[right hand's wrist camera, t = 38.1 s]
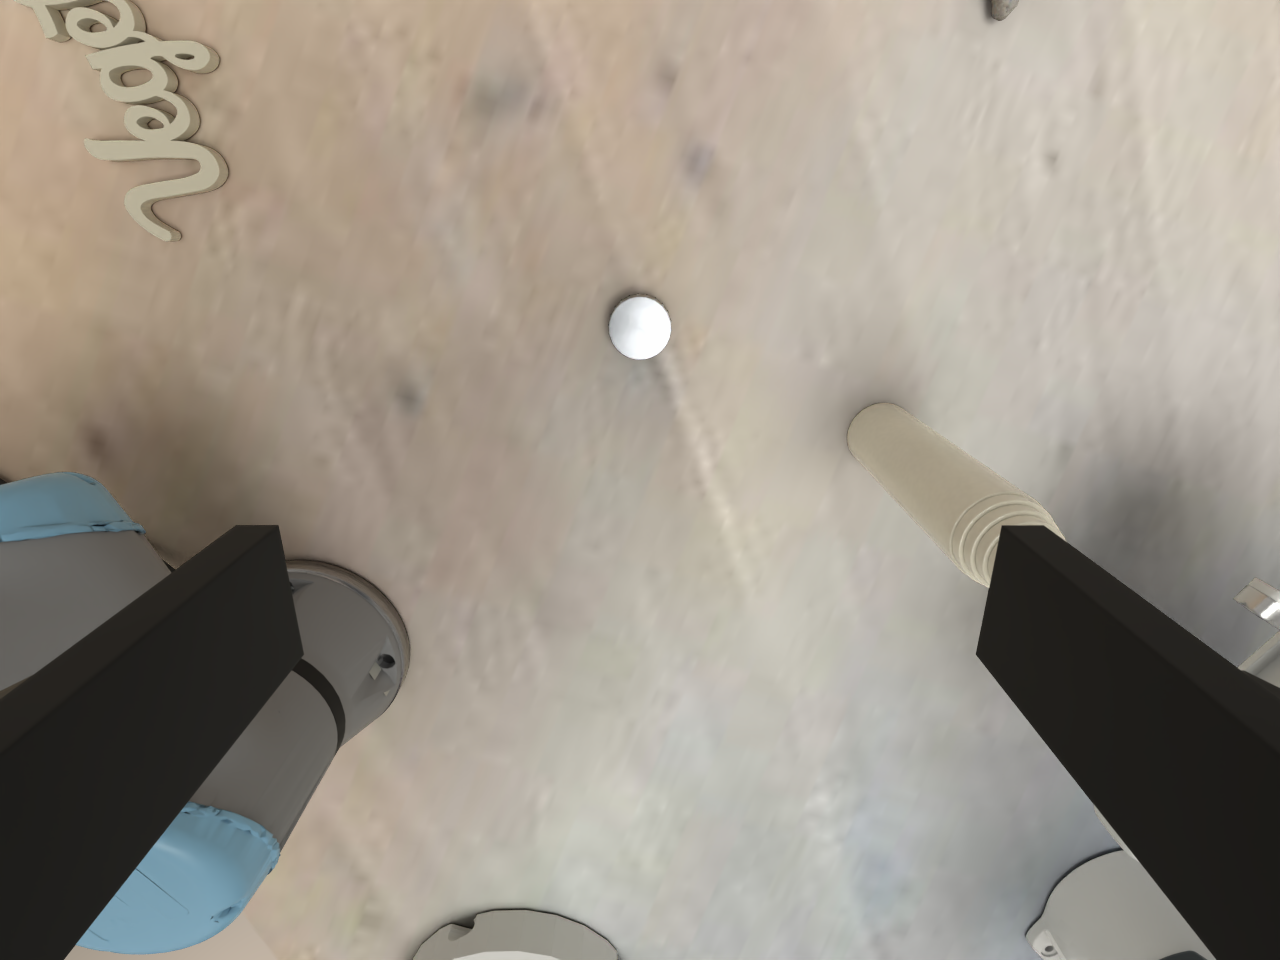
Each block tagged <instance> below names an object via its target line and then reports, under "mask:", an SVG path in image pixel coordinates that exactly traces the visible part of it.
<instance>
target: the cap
mask: <svg viewBox="0 0 1280 960" xmlns="http://www.w3.org/2000/svg"><path fill="white" fill-rule="evenodd" d="M610 317H611V318H610V322H609V324H608V326H609V335H610V338H611V341H612V343H613V345H614V346H615V348H616V349H617V350H618V351H619V352H620V353H621V354H623V355H624V356H626V357H628V358H631V359H636V360H644V359H649V358H652V357H654V356H656V355H657V354H659V353H660V352H661V351H662V350H663V349H664V348H665V346H666V345H667V343H668V341H669V340H670V335H671V331H672V329H671V319H670V318H669V315H668V310H666V308H665V307H664V306H663V303H661V302H659V301H658V300H657V299H656V298H654V297H651V296H648V294H646V295H644V294H639V293H637V294H636V295H631V296H630V295H629V297H626V298H625V299H623V300H621V301H620V302H619V303H618V304H617V306H615V307H614V310H613V312H612V314H611V315H610Z"/></svg>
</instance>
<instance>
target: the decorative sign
mask: <svg viewBox="0 0 1280 960" xmlns="http://www.w3.org/2000/svg"><path fill="white" fill-rule="evenodd" d="M14 1H15V2H17V3H19V4H22V5H25V6H27V7H30V8H33V10H34V12H35V14H36V16H37V18H38V20H39V22H40V25H41V27H42V29H43V32H44V34H45V37H46V38H47V39H51V40H54V41H57V42H65V41H67V40H69V39H70V38H71V37H72V38H73V39H75V40H76V41H78V42H80V43H82V44H85V45H88V46H91V47H94V48H97V49H100V50H102V51H99V52H95V53H92V54H89V55H86V58H87V60H88V62H89V63H90V65H91V67H92V69H94V70H98V71H101V72H100V84H101V87H102V89H103V91H104V93H105V94H106V95H107V96H108V97H109V98H111V99H113V100H115V101H119V102H123V103H127V104H133V105H135V106H132V107H130V108H129V109H128V110H127V111H126V113H125V116H124V124H125V127H126V129H127V130H128V131H129V132H130V133H131V134H132V135H133V136H135V137H137V138H139V139H142V140H145V141H130V140H111V141H99V140H93V139H86V138H85V139H84V145H85V147H86V149H87V151H88V152H89V153H90V154H91V155H92V156H94V157H95V158H98V159H101V160H107V161H116V162H126V161H140V160H153V159H191V160H197V161H199V163H200V166H201V168H200V171H199V172H198V173H196V174H194V175H192V176H189V177H185V178H181V179H175V180H168V181H161V182H156V183H151V184H145V185H140V186H137V187H134V188H132V189H130V190H129V191H128V192H127V194H126V195H125V198H124V205H125V208H126V210H127V211H128V213H129V214H130V215H131V217H132V218H133V219H134V220H135V221H136V222H137V223H138V224H139V225H140V226H141V227H143V228H144V229H145V230H146V231H148V232H149V233H151V234H152V235H154V236H156V237H158V238H159V239H161V240H164V241H179V240H180V239H181V234H180V232H179V231H177V230H175V229H173V228H171V227H170V226H168V225H166V224H164V223H163V222H161V221H160V220H158V219H157V218H156V217H155V216H154V214H153V213H152V211H151V205H152V204H153V203H155V202H156V201H159V200H162V199H168V198H175V197H181V196H187V195H193V194H198V193H204V192H209V191H212V190H215V189H217V188H219V187H220V186H221V185H223V183H224V182H225V181H226V179H227V177H228V168H227V165H226V163H225V161H224V159H223V158H222V156H221V155H220V154H219V153H218V152H216V151H215V150H213V149H211V148H209V147H207V146H204V145H200V144H195V143H190V142H184V140H186V139H188V138H190V137H191V136H192V135H194V134H195V133H196V131H197V130H198V128H199V124H200V119H199V115H198V112H197V110H196V108H195V106H194V105H193V104H192V103H191V102H190V101H189V100H188V99H186V98H185V97H183V96H181V95H179V94H175V93H174V92H175V91H176V89H177V86H178V80H177V77H176V75H175V74H174V72H173V71H172V70H171V69H170V68H169V67H168V66H167V65H165V64H163V63H161V62H160V61H163V60H168V61H169V62H170V63H172V64H174V65H176V66H178V67H180V68H183V69H186V70H189V71H192V72H195V73H201V74H204V73H210V72H212V71H214V70H215V69H216V68H217V66H218V64H219V56H218V55H217V53H216V52H215V51H214V50H213V49H211V48H210V47H208V46H205V45H203V44H200V43H198V42H195V41H163V40H161V39H159V38H157V37H154V36H152V35H149V34H147V33H145V31H146V25H145V20H144V17H143V15H142V13H141V11H140V10H139V8H138V7H137V6H136V5H135V4H134V3H132V2H131V1H129V0H14ZM102 1H107V2H111V3H112V4H114V5H115V6H116V7H117V8H118V10H119V11H120V20H119V22H118V21H117V20H116V19H114V18H113V17H110V16H108V15H106V14H103V13H101V12H98V11H96V10H93V9H89V8H84V7H86V6H90V5H93V4H96V3H99V2H102ZM68 9H72V10H70V11H69V12H68V14H67V17H66V24H65V22H64V20H63V18H62V16H61V14H60V13H59V11H58V10H68ZM95 23H102V24H103V25H105V27H106V28H107V30H106V31H103V32H94V33H92V32H91V31H90V29H89V28H90V26H91V25H93V24H95ZM70 36H71V37H70ZM139 41H145V42H141V43H138V42H139ZM189 57H194V58H193V59H191V60H185V59H186V58H189ZM135 69H148V70H149V71H151V73H152V74H153V77H152V79H151V80H150V81H148V82H147V83H145V84H142V85H139V86H135V87H125V86H124V85H123V83H122V82H121V78H120V77H121V75H122V74H123V73H124V72H127V71H130V70H135ZM163 99H165V100H167V101H169V102H171V103H172V104H173V105H174V106H175V107H176V109H177V115H176V118H175V117H174V116H172V115H171V114H169V113H167V112H165V111H163V110H159V109H155V108H151V107H147V106H142V104H150V103H155V102H158V101H161V100H163ZM153 119H157V120H159V121H160V122H161V123H162V124H163V125H164V127H163V128H160V129H151V128H149V127H148V125H147V123H148V122H149V121H150V120H153Z"/></svg>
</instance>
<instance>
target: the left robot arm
mask: <svg viewBox="0 0 1280 960" xmlns="http://www.w3.org/2000/svg"><path fill="white" fill-rule="evenodd" d="M1233 599H1234V600H1235V601H1236V602H1238V603H1239V604H1241V605H1242V606H1243V607H1245V608H1246V609H1248V610H1249V611H1250V612H1252V613H1253V614H1255V615H1256V616H1258V617H1260V618H1261V619H1263V620H1265V621H1266V622H1268V623H1269V624H1271V625H1272V626H1274V627H1275V628H1277V629H1279V630H1280V590H1277V589H1276V588H1274V587H1272V586H1270V585H1269V584H1267V583H1265V582H1263V581H1261V580H1260V579H1258V578H1254V579H1253V580H1252V581H1251V582H1250V583H1249V584H1248V585H1247V586H1246V587H1245V588H1244V589H1243V590H1242V591H1240V592H1239V593H1238V594H1237V595H1236V596H1235V597H1234V598H1233ZM1238 669H1240V670H1244V671H1247V672H1249V673H1251V674H1253V675H1255V676H1257V677H1259V678H1261V679H1263V680H1265V681H1267V682H1269V683H1271V684H1273V685H1275V686H1277V687H1279V688H1280V631H1279V632H1277V633H1276V634H1275V635H1274V636H1273V637H1272V638H1271V639H1269V640H1268V641H1267V642H1266V643H1265V644H1264V645H1263V646H1262V647H1260V648H1259V649H1258V650H1257V651H1256V652H1255V653H1254V654H1252V655H1251V656H1250V657H1249V658H1248V659H1247V660H1246V661H1244V662H1243V663H1242V664H1241V665H1240V666H1239V667H1238ZM1094 810H1095V813H1096V815H1097V817H1098V818H1099V820H1100V821H1101V823H1102V824H1103V826H1104V827H1105V828H1106V830H1107V831H1108V832H1109V833H1110V835H1111V836H1112V837H1113V838H1114V840H1115V841H1116V842H1117V843H1118V844H1119V845H1120V847H1121V848H1122V849H1123V850H1121V851H1116V852H1112V853H1108V854H1105V855H1102V856H1100V857H1097V858H1095V859H1092V860H1090V861H1088V862H1086V863H1084V864H1083V865H1081V866H1079V867H1078V868H1076V869H1075V870H1073V871H1072V872H1071V873H1069V874H1068V875H1067V876H1066V877H1065V878H1064V879H1063V880H1062V881H1061V882H1060V883H1059V884H1058V885H1057V886H1056V888H1055V889H1054V890H1053V892H1052V893H1051V895H1050V897H1049V899H1048V901H1047V904H1046V907H1045V910H1044V913H1043V915H1042V916H1041V918H1040V919H1039V920H1038V921H1037V922H1036V923H1035V924H1034V925H1033V926H1032V927H1031V928H1030V930H1029V931H1028V933H1027V935H1026V939H1027V941H1028V942H1029V944H1030V945H1031V947H1032V948H1033V950H1034V951H1035V952H1036V953H1037V954H1038V955H1039V956H1040V957H1041V958H1043V959H1044V960H1216V959H1215V958H1214V956H1213V955H1212V954H1211V952H1210V951H1209V950H1208V949H1207V947H1206V946H1205V945H1204V944H1203V942H1202V941H1201V940H1200V939H1199V937H1198V936H1197V935H1196V933H1195V932H1194V931H1193V930H1192V928H1191V927H1190V926H1189V925H1188V923H1187V922H1186V921H1185V919H1184V918H1183V917H1182V916H1181V914H1180V913H1179V912H1178V911H1177V909H1176V908H1175V907H1174V905H1173V904H1172V903H1171V902H1170V900H1169V899H1168V898H1167V897H1166V895H1165V894H1164V893H1163V892H1162V890H1161V889H1160V888H1159V886H1158V885H1157V884H1156V883H1155V881H1154V880H1153V879H1152V878H1151V876H1150V875H1149V874H1148V872H1147V871H1146V870H1145V869H1144V867H1143V866H1142V865H1141V864H1140V862H1139V861H1138V860H1137V859H1136V857H1135V856H1134V855H1133V853H1132V852H1131V851H1130V850H1129V848H1128V847H1127V846H1126V845H1125V843H1124V842H1123V841H1122V839H1121V838H1120V837H1119V836H1118V834H1117V833H1116V832H1115V831H1114V829H1113V828H1112V827H1111V825H1110V824H1109V823H1108V822H1107V820H1106V819H1105V818H1104V817H1103V815H1102V814H1101V813H1100V812H1099V810H1098V809H1097V808H1096V806H1095V805H1094Z"/></svg>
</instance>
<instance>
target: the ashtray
mask: <svg viewBox="0 0 1280 960" xmlns="http://www.w3.org/2000/svg"><path fill="white" fill-rule="evenodd" d="M474 922H475V925H474V927H473V929H469V928H465V927H461V926H458V925H454V924H449V925H447V926H445V927H443V928H441V929H439V930H438V931H437V932H436V933H435V934H434V935H432V936H431V937H430V938H429V939H428V940H427V941H425V942H424V943H423V944H422V945H421V946H420V948H419V950H418V951H417V953H416V955H415V956H414V958H413V960H617V959H618V956H617V951H616V950H615V949H614V947H613V946H612V945H611V944H610V943H609V942H608V941H607V940H606V939H604V938H603V937H601V936H600V935H598V934H596V933H595V932H593V931H592V930H590V929H589V928H587V927H586V926H584V925H581V924H579V923H576V922H573V921H571V920H568V919H565V918H563V917H560V916H557V915H553V914H547V913H541V912H535V911H529V910H501V911H490V912H486V913H481V914H477V916H476V918H475V919H474Z"/></svg>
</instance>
